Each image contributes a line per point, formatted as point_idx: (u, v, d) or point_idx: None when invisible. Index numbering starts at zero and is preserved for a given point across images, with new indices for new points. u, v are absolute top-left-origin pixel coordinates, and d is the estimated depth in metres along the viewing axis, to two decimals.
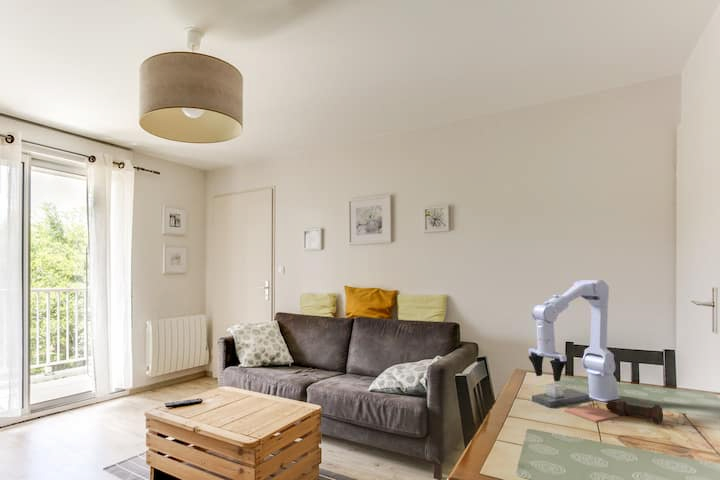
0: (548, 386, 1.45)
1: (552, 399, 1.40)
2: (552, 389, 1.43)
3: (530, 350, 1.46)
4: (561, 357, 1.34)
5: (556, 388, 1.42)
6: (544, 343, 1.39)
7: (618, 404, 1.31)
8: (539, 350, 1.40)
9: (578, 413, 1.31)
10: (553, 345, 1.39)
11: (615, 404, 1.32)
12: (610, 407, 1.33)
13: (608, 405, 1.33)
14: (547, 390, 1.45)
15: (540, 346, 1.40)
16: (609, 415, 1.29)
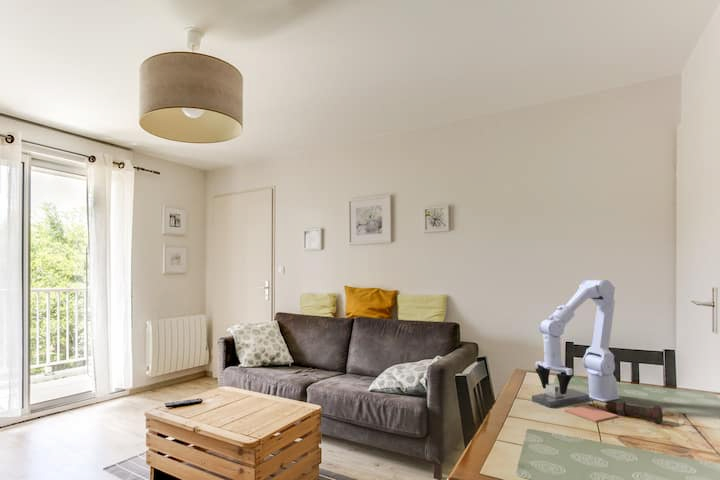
0: (548, 386, 1.45)
1: (552, 399, 1.40)
2: (552, 389, 1.43)
3: (537, 363, 1.50)
4: (567, 371, 1.39)
5: (556, 388, 1.42)
6: (551, 357, 1.43)
7: (618, 405, 1.30)
8: (546, 363, 1.45)
9: (578, 413, 1.31)
10: (560, 359, 1.43)
11: (615, 405, 1.31)
12: (610, 408, 1.32)
13: (608, 406, 1.33)
14: (547, 390, 1.45)
15: (547, 359, 1.44)
16: (609, 415, 1.29)
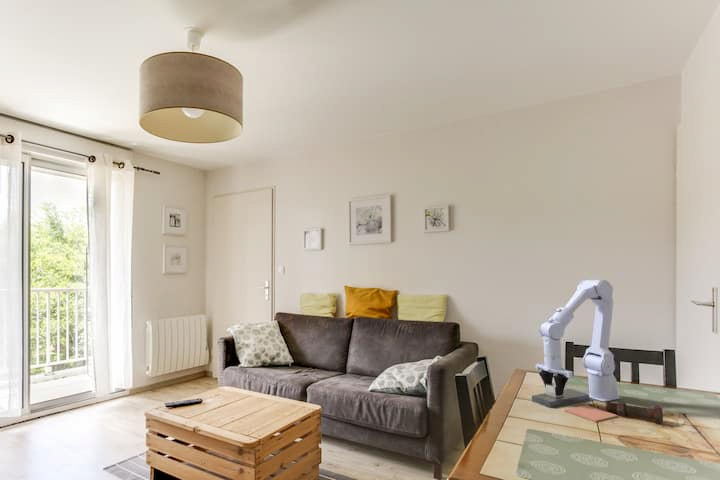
0: (548, 386, 1.45)
1: (552, 399, 1.40)
2: (552, 389, 1.43)
3: (537, 365, 1.50)
4: (568, 374, 1.38)
5: None
6: (551, 359, 1.43)
7: (618, 406, 1.29)
8: (546, 366, 1.45)
9: (578, 413, 1.31)
10: (560, 361, 1.43)
11: (615, 405, 1.31)
12: (610, 409, 1.31)
13: (608, 407, 1.32)
14: (547, 390, 1.45)
15: (547, 362, 1.44)
16: (609, 415, 1.29)
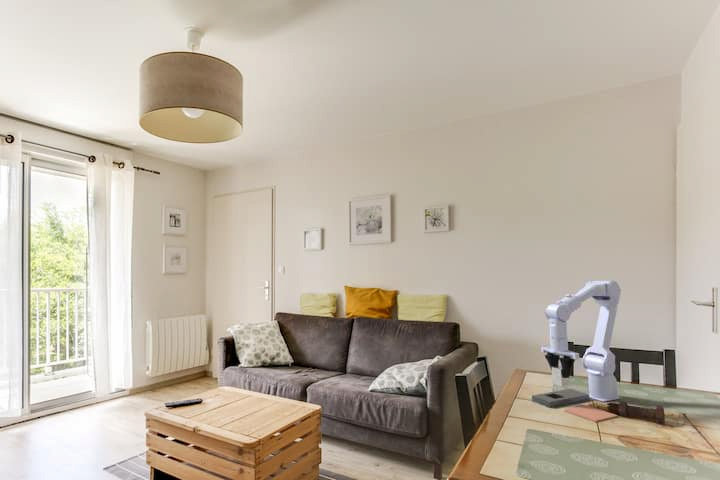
0: (554, 368, 1.42)
1: (552, 399, 1.40)
2: (558, 371, 1.41)
3: (543, 348, 1.48)
4: (574, 355, 1.36)
5: None
6: (557, 341, 1.41)
7: (620, 406, 1.29)
8: (552, 348, 1.43)
9: (578, 413, 1.31)
10: (566, 343, 1.41)
11: (617, 406, 1.30)
12: (611, 409, 1.31)
13: (609, 407, 1.31)
14: (553, 373, 1.43)
15: (553, 344, 1.42)
16: (609, 415, 1.29)
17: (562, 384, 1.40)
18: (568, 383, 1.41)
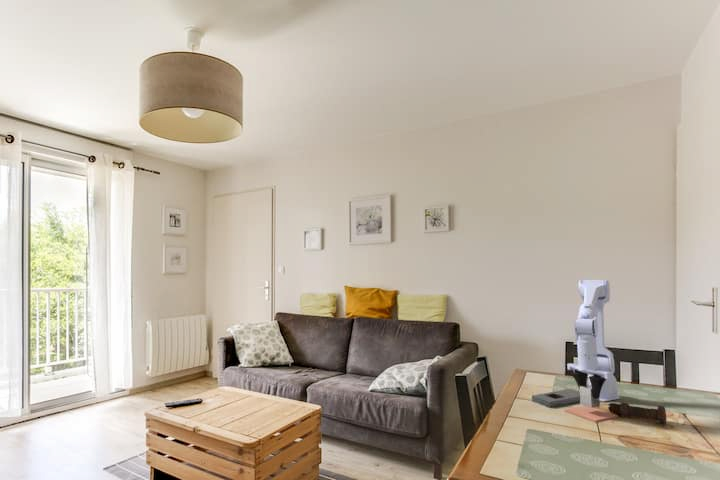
0: (582, 388, 1.32)
1: (552, 399, 1.40)
2: (587, 391, 1.30)
3: (569, 365, 1.38)
4: (606, 374, 1.26)
5: None
6: (586, 359, 1.31)
7: (622, 407, 1.28)
8: (580, 366, 1.32)
9: (578, 413, 1.31)
10: (596, 361, 1.30)
11: (618, 406, 1.30)
12: (613, 410, 1.30)
13: (611, 408, 1.31)
14: (581, 392, 1.32)
15: (582, 362, 1.32)
16: (609, 415, 1.29)
17: (592, 405, 1.29)
18: (598, 404, 1.30)
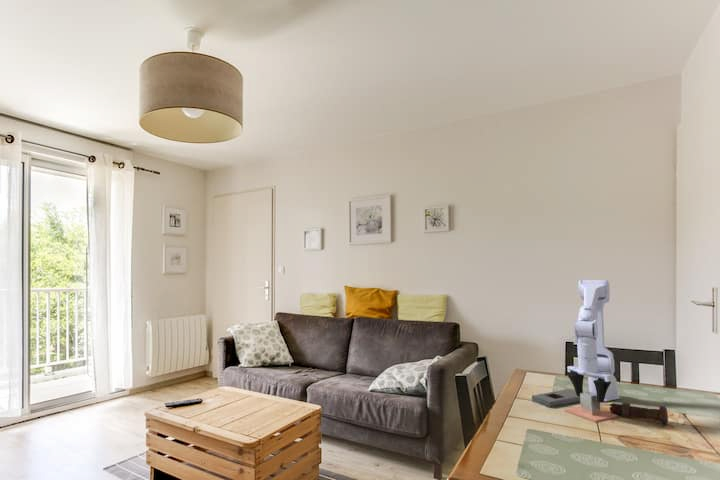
0: (583, 395, 1.32)
1: (552, 399, 1.40)
2: (588, 398, 1.30)
3: (569, 368, 1.38)
4: (606, 377, 1.26)
5: (593, 397, 1.30)
6: (586, 361, 1.31)
7: (623, 407, 1.28)
8: (581, 369, 1.32)
9: (578, 413, 1.31)
10: (596, 364, 1.30)
11: (619, 407, 1.29)
12: (614, 410, 1.30)
13: (612, 408, 1.30)
14: (582, 399, 1.32)
15: (582, 365, 1.32)
16: (609, 415, 1.29)
17: (592, 412, 1.29)
18: (599, 411, 1.30)
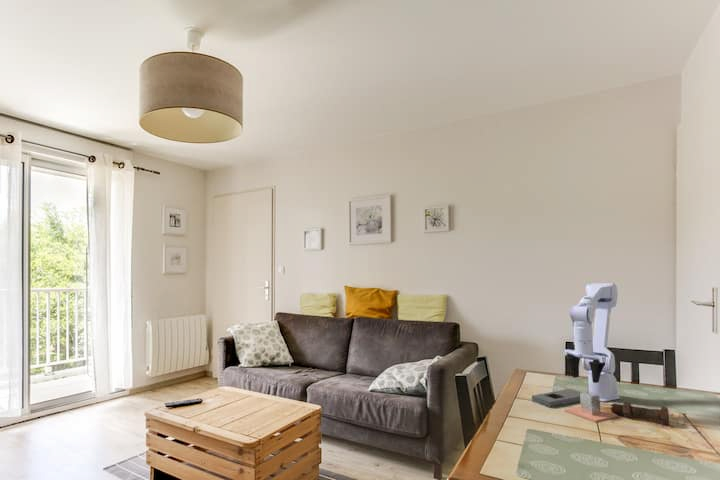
0: (583, 395, 1.32)
1: (552, 399, 1.40)
2: (588, 398, 1.30)
3: (566, 351, 1.45)
4: (601, 358, 1.33)
5: (593, 397, 1.30)
6: (582, 344, 1.38)
7: (625, 407, 1.28)
8: (577, 351, 1.39)
9: (578, 413, 1.31)
10: (591, 346, 1.37)
11: (621, 407, 1.29)
12: (615, 410, 1.30)
13: (613, 408, 1.30)
14: (582, 399, 1.32)
15: (578, 347, 1.39)
16: (609, 415, 1.29)
17: (592, 412, 1.29)
18: (599, 411, 1.30)
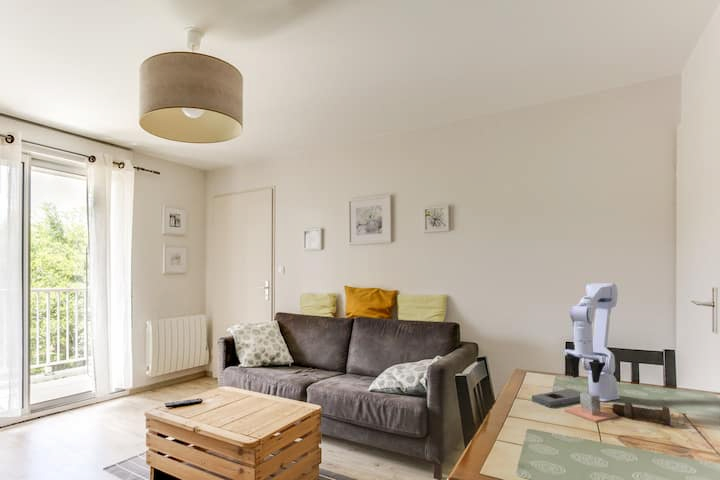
0: (583, 395, 1.32)
1: (552, 399, 1.40)
2: (588, 398, 1.30)
3: (566, 351, 1.45)
4: (601, 358, 1.33)
5: (593, 397, 1.30)
6: (582, 344, 1.38)
7: (626, 408, 1.27)
8: (577, 351, 1.39)
9: (578, 413, 1.31)
10: (591, 346, 1.37)
11: (622, 407, 1.29)
12: (617, 411, 1.29)
13: (614, 409, 1.30)
14: (582, 399, 1.32)
15: (578, 347, 1.39)
16: (609, 415, 1.29)
17: (592, 412, 1.29)
18: (599, 411, 1.30)
